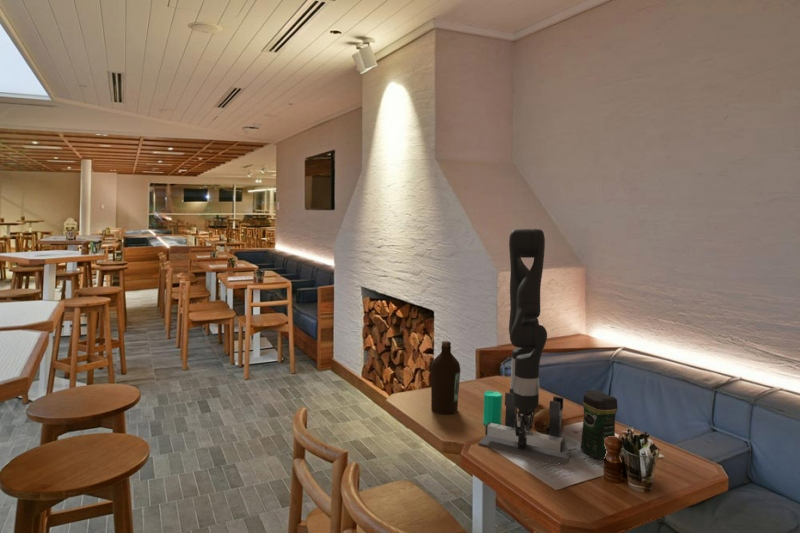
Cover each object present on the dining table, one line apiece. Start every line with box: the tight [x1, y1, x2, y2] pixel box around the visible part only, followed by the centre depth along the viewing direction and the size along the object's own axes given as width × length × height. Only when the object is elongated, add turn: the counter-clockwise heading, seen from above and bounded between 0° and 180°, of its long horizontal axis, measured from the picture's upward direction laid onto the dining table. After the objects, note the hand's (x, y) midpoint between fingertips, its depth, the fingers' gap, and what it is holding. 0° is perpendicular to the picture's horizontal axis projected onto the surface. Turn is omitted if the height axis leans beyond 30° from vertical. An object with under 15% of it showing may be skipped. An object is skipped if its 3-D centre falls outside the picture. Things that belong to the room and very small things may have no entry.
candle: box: [482, 388, 503, 426], centre depth 176 cm, size 6×6×12 cm
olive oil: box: [430, 340, 461, 415], centre depth 188 cm, size 11×11×25 cm
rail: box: [484, 422, 566, 452], centre depth 156 cm, size 3×23×3 cm, turn 61°
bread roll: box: [533, 408, 565, 434], centre depth 174 cm, size 10×10×8 cm
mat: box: [478, 435, 571, 466], centre depth 157 cm, size 7×26×1 cm, turn 61°
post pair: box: [504, 387, 565, 438], centre depth 165 cm, size 6×19×14 cm, turn 61°
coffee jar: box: [580, 389, 618, 460], centre depth 155 cm, size 10×8×19 cm
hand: (523, 446), depth 157 cm, fingers closed on rail, 3 cm apart
